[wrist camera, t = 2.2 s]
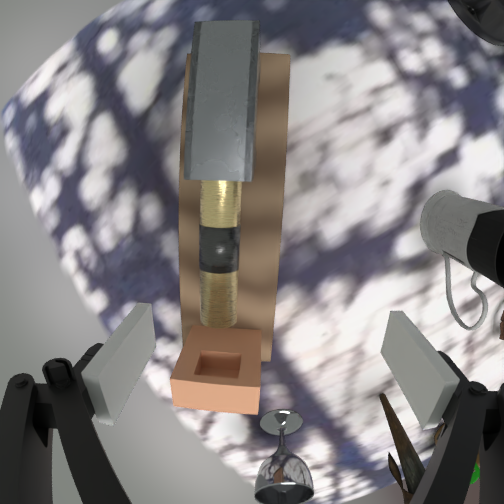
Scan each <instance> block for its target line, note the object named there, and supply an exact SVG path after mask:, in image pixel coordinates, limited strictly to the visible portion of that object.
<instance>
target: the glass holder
mask: <svg viewBox="0 0 504 504" xmlns="http://www.w3.org/2000/svg"><path fill="white" fill-rule="evenodd" d="M420 227H421V235H422V238H423V240H424V242H425V244H426V245H427V247H428V248H429V249H430V250H432V251H433V252H435V253H438V254H442V256H444V258H445V269H446V295H447V301H448V304H449V307H450V310H451V313H452V315H453V316H454V318H455V320H456V321H457V322H458V323H459V325H460V326H461V327H463V328H464V329H466V330H475V329H477V328H479V327H480V326H481V325H482V323H483V322H484V320H485V318H486V316H487V312H488V303H487V299H486V297H485V295H484V293H483V292H482V291H481V290H479V289H478V288H477V287H476V280H477V277H478V275H479V274H481V275H484V276H485V277H487V278H489V279H490V280H492V281H493V282H495V283H497V284H498V285H500V286H501V287H503V288H504V207H502V206H498V205H494V204H490V203H486V202H482V201H478V200H474V199H470V198H466V197H461V196H460V195H459V194H457V193H456V192H453V191H449V190H445V191H441V192H438V193H436V194H435V195H433V196H432V197H431V198H430V199H429V201H428V202H427V203H426V205H425V207H424V209H423V212H422V216H421V222H420ZM448 256H449V257H450V258H452V259H454V260H456V261H457V262H459V263H461V264H462V265H464V266H466V267H467V268H469V269H471V270H472V271H474V273H473V276H472V279H471V287H472V289H473V290H474V291H475V292H477V293H478V294H479V295H480V297H481V299H482V304H483V311H482V315H481V317H480V319H479V321H478V322H477V323H476V324H475V325H474V326H472V327H468V326H466V325H465V324H464V323H463V322H462V320H461V319H460V318H459V316H458V314H457V312H456V310H455V307H454V304H453V300H452V294H451V280H450V260H449V257H448Z"/></svg>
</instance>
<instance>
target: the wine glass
mask: <svg viewBox="0 0 504 504" xmlns="http://www.w3.org/2000/svg"><path fill="white" fill-rule="evenodd" d="M302 424H303V419H302V417H301V416H300V415H299V414H298V413H297V412H295V411H292V410H287V409H279V410H274V411H271V412H269V413H267V414H265V415H264V416H263V417H262V418H261V420H260V427H261V429H262V430H263V431H264V432H265V433H267V434H269V435H273V436H280V438H279V446H278V449H277V451H276V452H275V453H274V454H272V455H271V456H270V457H268V458H267V459H266V460H265V461H264V462H263V463H262V464H261V466H260V468H259V471H258V474H257V477H256V482H255V500H256V501H257V502H259V503H260V504H304V503H306V502H308V501H309V500H310V499H312V497H313V496H314V487H313V481H312V476H311V473H310V470H309V468H308V466H307V464H306V463H305V461H304V460H303V459H302V458H300V457H299V456H297V455H295V454H294V453H292V452H290V451H289V450H288V448H287V446H286V442H285V437H284V436H287V435H291V434H293V433H295V432H297V431H298V430H299V429H300V428H301V426H302Z"/></svg>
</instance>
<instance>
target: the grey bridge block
mask: <svg viewBox="0 0 504 504" xmlns="http://www.w3.org/2000/svg"><path fill="white" fill-rule="evenodd" d="M260 44H261V43H260V21H247V20H231V21H203V22H195V25H194V34H193V43H192V52H191V62H190V73H189V85H188V98H187V113H186V130H185V151H184V180H217V181H243V182H252V181H253V179H254V169H255V168H256V149H255V142H256V122H257V103H258V83H260V72H261V62H260Z"/></svg>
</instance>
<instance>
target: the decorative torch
mask: <svg viewBox="0 0 504 504" xmlns="http://www.w3.org/2000/svg"><path fill="white" fill-rule="evenodd" d="M379 398H380V400H381V403H382V405H383V408H384V411H385V415H386V418H387V421H388V424H389V427H390V430H391V433H392V436H393V440H394V443H395V446H396V449H397V453H398V456H399V460H400V463H401V466H402V470H403V473H404V477H405V481H406V484H407V488H408V492H407V491H405V489H403V483H402V479H401V474H400V471H399V469H398V466H397V464H396V462H395V461H394V459H393V457H392V456H391V454H390V453H389V454H388V464H389V469H390V471H391V473H392V475H393V476H394V478H395V479H396V481H397V482H398V484H399V485H400V487H401V489H402V492H403V496H404V504H409V503H410V501H411V500H412V498H413V496H414V494H415V492H416V490H417V488H418V486H419V484H420V481H421V479H422V477H423V475H424V473H425V471H426V470H425V468H424V466H423V464H422V463H421V461H420V459H419V457H418V455H417V453H416V451H415V449H414V447H413V445H412V443H411V442H410V440H409V438H408V436H407V434H406V432H405V430H404V429H403V427H402V425H401V423H400V421H399V419H398V418H397V416H396V414H395V412H394V410H393V408H392V407H391V405H390V403H389V401H388V399H387V397H386V395H385V394H381V395H380V397H379Z"/></svg>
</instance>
